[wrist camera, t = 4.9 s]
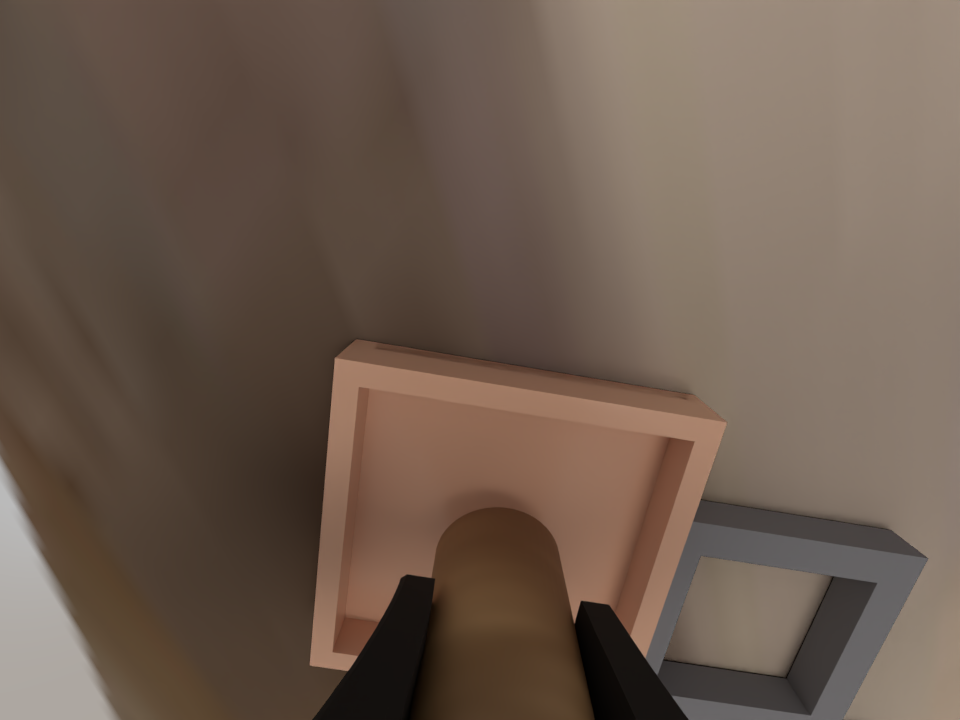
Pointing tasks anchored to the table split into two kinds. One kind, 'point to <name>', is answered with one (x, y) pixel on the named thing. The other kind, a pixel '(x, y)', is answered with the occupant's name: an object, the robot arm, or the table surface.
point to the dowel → (500, 626)
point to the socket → (833, 634)
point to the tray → (501, 480)
